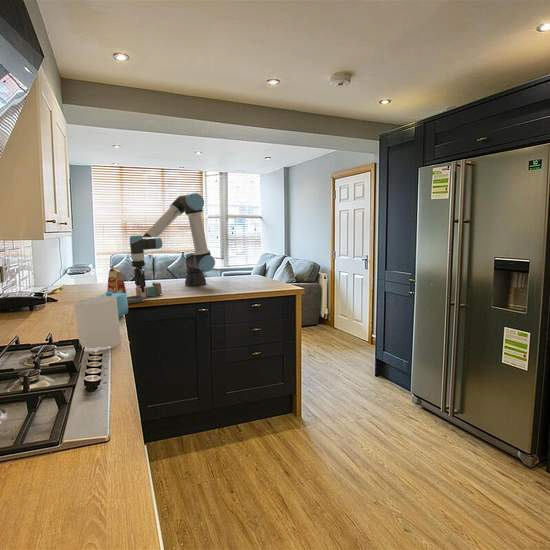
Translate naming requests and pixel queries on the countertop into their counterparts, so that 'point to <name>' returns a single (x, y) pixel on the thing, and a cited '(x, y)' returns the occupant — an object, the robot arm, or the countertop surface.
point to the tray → (134, 299)
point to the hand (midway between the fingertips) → (141, 296)
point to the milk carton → (115, 281)
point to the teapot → (119, 302)
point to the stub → (139, 291)
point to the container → (98, 322)
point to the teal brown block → (154, 289)
